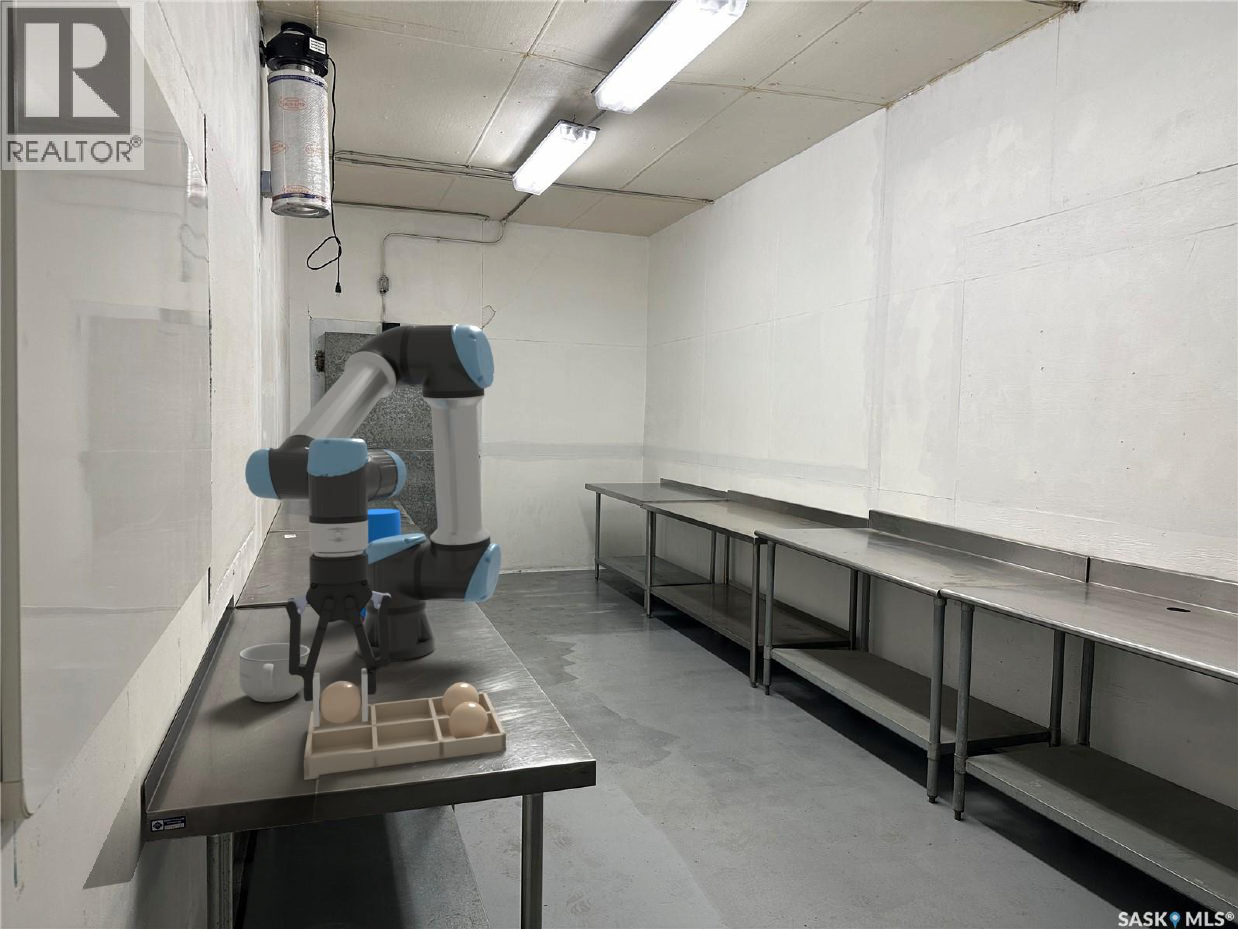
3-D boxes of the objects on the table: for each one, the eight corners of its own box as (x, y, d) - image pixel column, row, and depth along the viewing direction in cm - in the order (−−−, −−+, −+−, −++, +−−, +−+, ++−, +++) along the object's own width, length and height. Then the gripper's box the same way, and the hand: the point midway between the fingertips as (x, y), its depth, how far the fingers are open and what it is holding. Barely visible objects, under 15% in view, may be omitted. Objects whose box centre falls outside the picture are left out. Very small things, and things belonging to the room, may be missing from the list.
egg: (319, 717, 108) (319, 677, 107) (362, 713, 109) (362, 674, 109) (318, 732, 102) (317, 690, 102) (362, 727, 104) (362, 686, 104)
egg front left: (446, 735, 114) (446, 698, 113) (484, 731, 116) (484, 694, 115) (451, 751, 109) (450, 712, 108) (491, 746, 110) (490, 707, 110)
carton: (311, 727, 118) (311, 710, 117) (485, 708, 126) (485, 691, 126) (304, 780, 101) (303, 759, 101) (505, 753, 109) (505, 734, 109)
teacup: (254, 686, 136) (253, 641, 135) (318, 684, 137) (317, 640, 136) (220, 716, 122) (219, 666, 121) (292, 714, 123) (291, 665, 122)
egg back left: (440, 714, 122) (440, 679, 122) (476, 710, 124) (476, 675, 123) (444, 728, 117) (444, 691, 116) (481, 723, 118) (481, 687, 118)
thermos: (343, 620, 179) (341, 513, 178) (374, 609, 189) (372, 508, 188) (381, 625, 175) (380, 515, 174) (410, 614, 185) (410, 510, 184)
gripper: (261, 560, 98) (264, 739, 100) (411, 553, 104) (412, 722, 105) (267, 550, 105) (270, 718, 107) (408, 544, 111) (409, 703, 113)
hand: (341, 720), depth 106 cm, fingers closed on egg, 5 cm apart
